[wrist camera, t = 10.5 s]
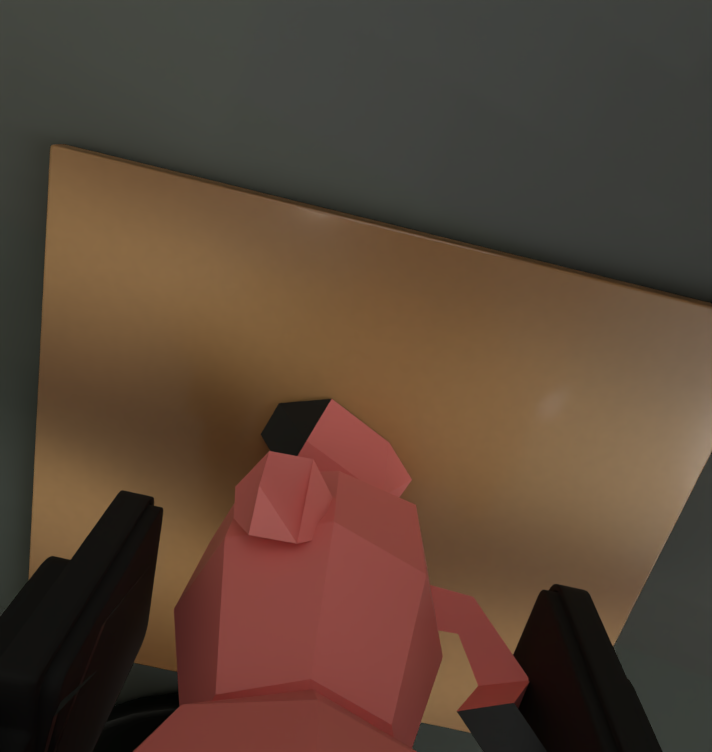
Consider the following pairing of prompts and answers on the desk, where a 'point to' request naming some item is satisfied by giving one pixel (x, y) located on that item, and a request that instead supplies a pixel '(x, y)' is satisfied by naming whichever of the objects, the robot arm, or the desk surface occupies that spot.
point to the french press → (135, 722)
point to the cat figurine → (325, 611)
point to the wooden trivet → (359, 389)
